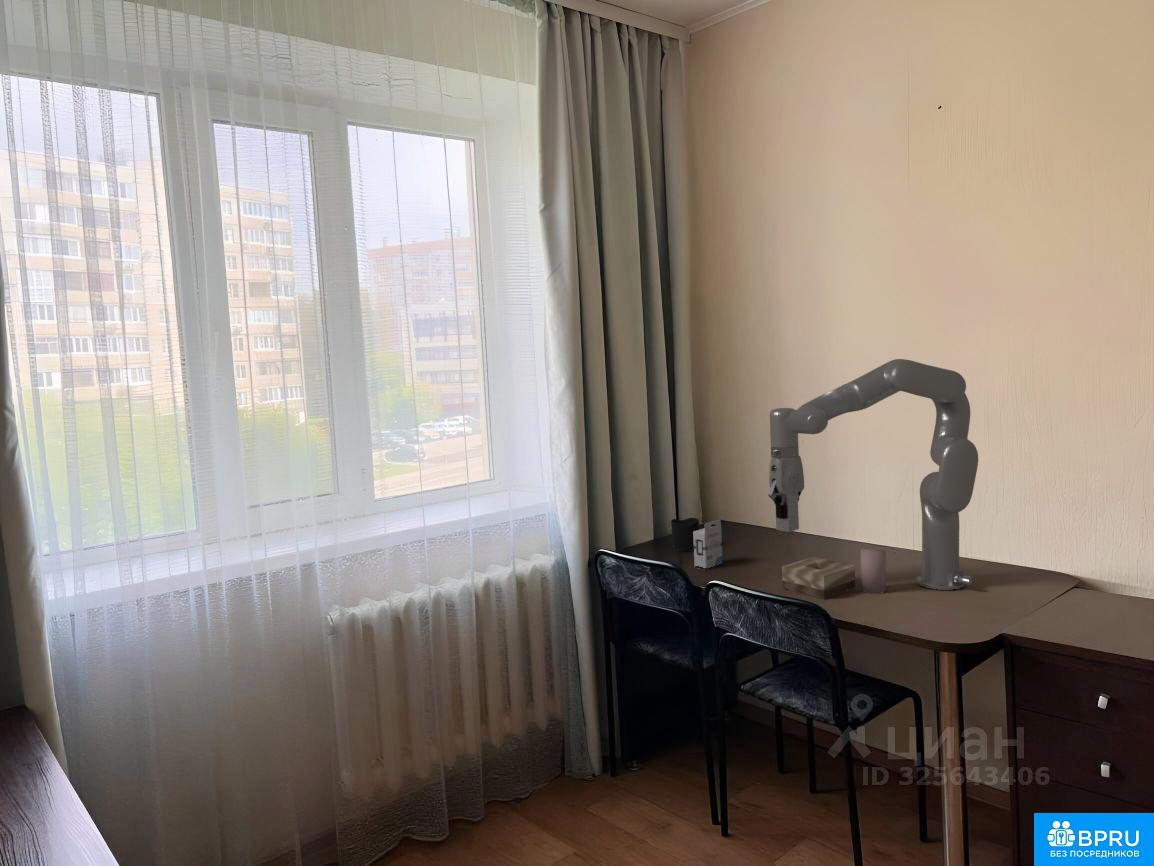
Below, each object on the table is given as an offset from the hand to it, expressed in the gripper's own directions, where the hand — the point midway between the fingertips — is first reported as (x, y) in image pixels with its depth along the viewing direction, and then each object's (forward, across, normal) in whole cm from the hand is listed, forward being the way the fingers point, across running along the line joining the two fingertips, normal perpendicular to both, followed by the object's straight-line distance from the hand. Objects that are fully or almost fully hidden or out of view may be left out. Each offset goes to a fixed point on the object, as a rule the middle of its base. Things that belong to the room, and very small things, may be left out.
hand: (787, 516), depth 238 cm
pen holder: (+20, +10, +52) cm, 57 cm away
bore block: (+21, +4, -6) cm, 22 cm away
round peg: (+21, +13, -18) cm, 31 cm away
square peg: (+4, 0, 0) cm, 4 cm away
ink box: (+20, 0, +32) cm, 38 cm away
